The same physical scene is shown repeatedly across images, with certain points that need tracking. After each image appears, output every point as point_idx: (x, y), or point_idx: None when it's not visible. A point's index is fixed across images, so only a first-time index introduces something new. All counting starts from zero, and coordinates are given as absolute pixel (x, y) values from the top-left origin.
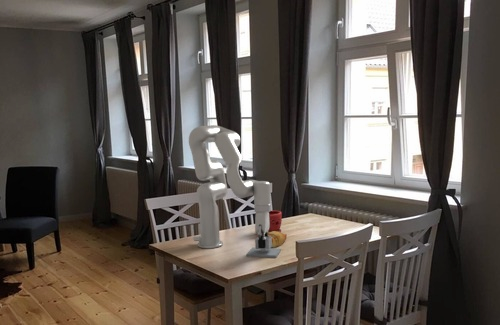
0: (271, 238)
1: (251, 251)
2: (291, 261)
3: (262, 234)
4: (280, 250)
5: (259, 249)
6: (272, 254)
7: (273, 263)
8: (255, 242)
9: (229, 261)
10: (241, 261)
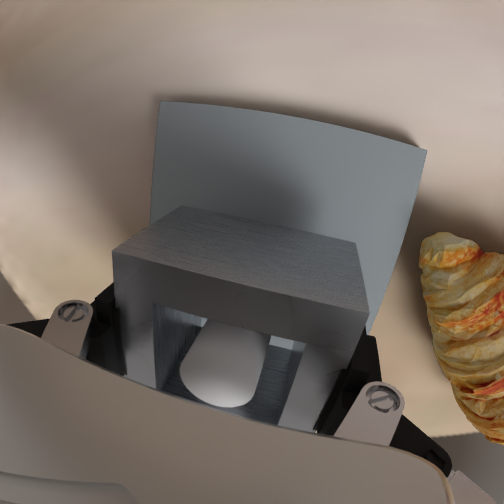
0: None
1: (256, 142)
2: None
3: (359, 393)
4: None
5: (334, 232)
6: None
7: None
8: (137, 235)
9: (60, 15)
10: (56, 98)
